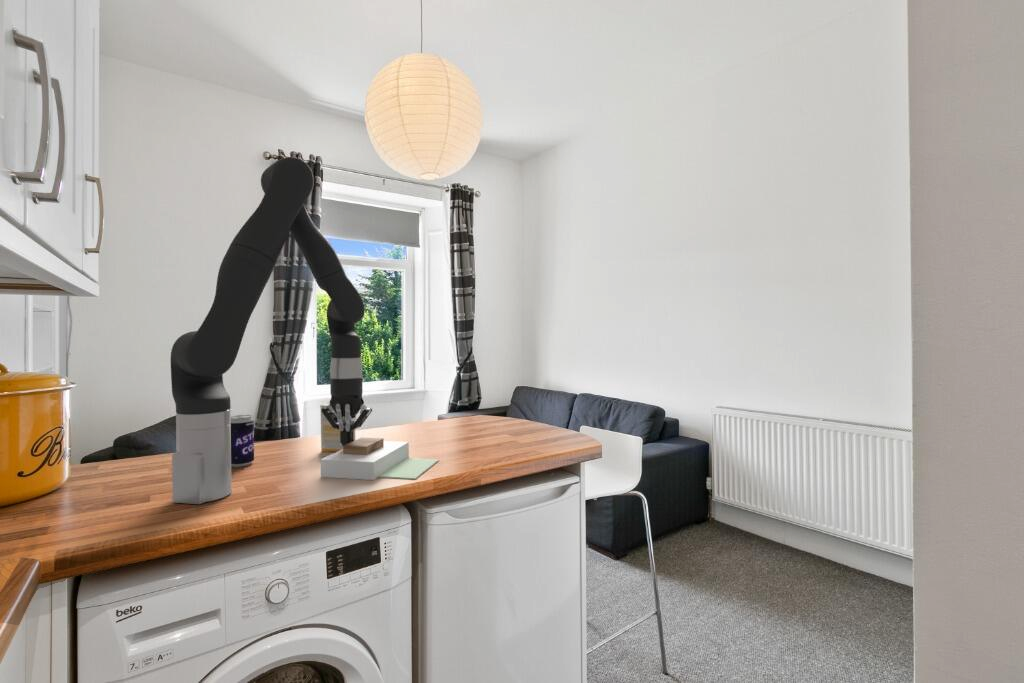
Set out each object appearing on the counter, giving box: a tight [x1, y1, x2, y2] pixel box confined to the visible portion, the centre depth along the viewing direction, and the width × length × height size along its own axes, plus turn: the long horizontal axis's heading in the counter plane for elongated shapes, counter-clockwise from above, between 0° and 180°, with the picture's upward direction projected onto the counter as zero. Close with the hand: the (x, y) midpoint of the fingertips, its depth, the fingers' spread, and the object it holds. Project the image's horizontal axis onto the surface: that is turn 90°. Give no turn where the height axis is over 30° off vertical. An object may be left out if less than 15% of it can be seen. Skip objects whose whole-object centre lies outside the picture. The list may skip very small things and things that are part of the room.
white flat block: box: [320, 440, 410, 481], centre depth 118 cm, size 20×13×4 cm, turn 170°
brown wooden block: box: [343, 437, 385, 455], centre depth 119 cm, size 9×6×2 cm, turn 170°
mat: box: [378, 457, 440, 480], centre depth 117 cm, size 16×9×1 cm, turn 170°
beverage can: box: [231, 414, 255, 468], centre depth 120 cm, size 6×6×12 cm
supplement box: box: [320, 402, 356, 452], centre depth 135 cm, size 8×5×13 cm, turn 84°
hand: (347, 445), depth 120 cm, fingers closed
